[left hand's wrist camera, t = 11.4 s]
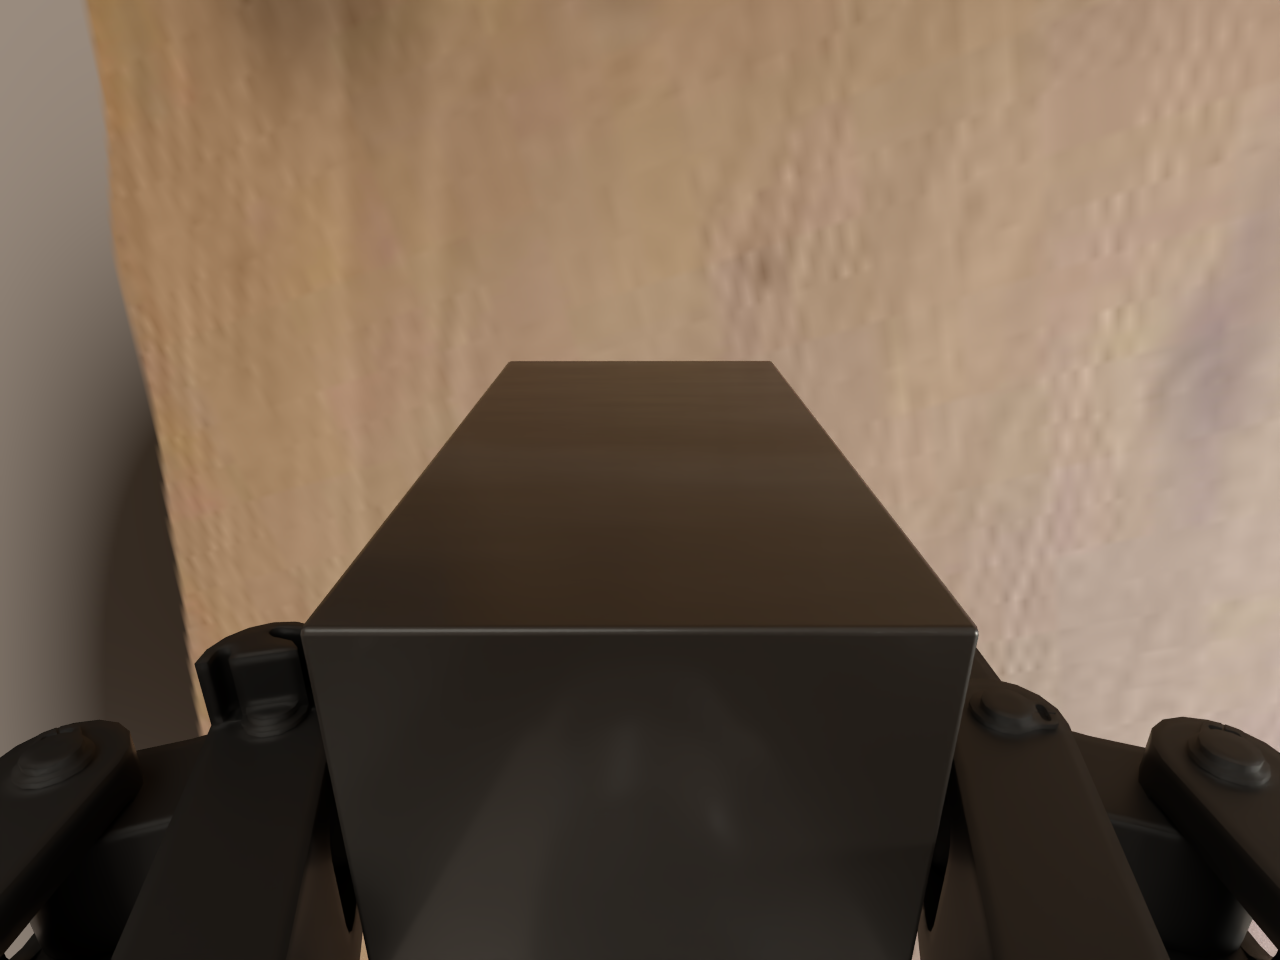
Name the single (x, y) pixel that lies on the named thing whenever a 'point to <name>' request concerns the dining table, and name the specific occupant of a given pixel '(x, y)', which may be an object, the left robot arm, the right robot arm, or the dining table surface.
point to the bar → (639, 683)
